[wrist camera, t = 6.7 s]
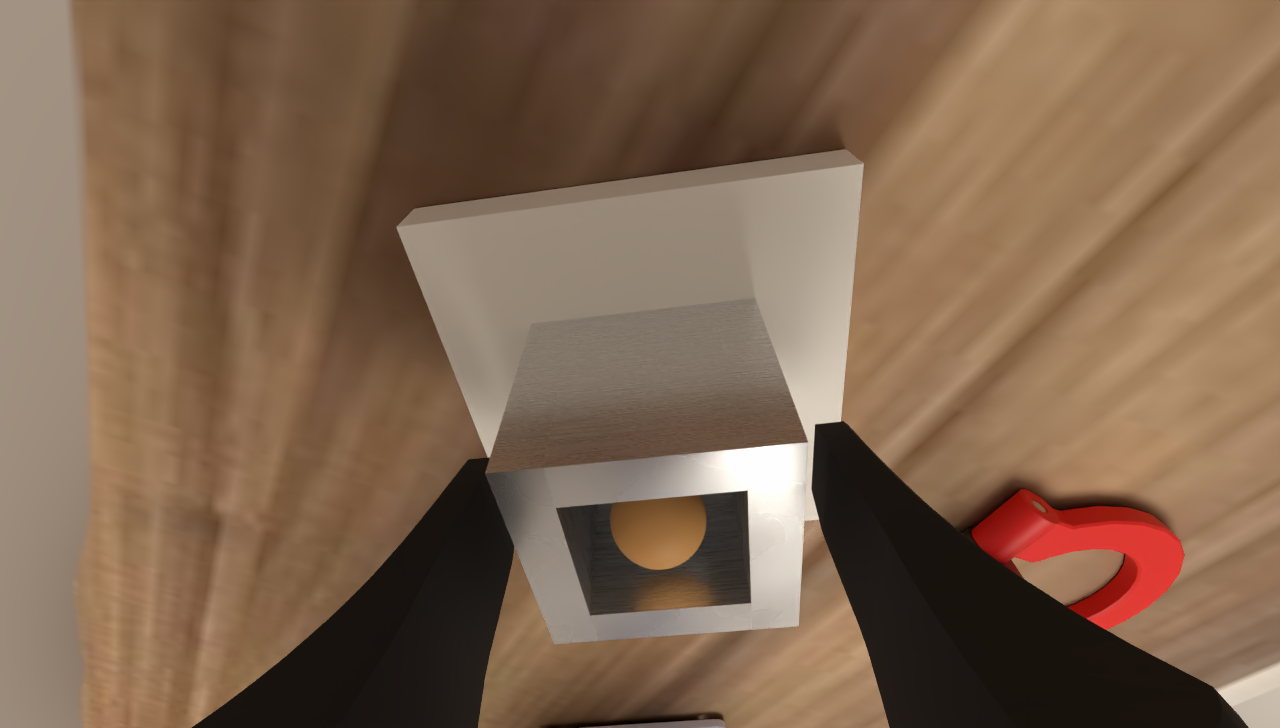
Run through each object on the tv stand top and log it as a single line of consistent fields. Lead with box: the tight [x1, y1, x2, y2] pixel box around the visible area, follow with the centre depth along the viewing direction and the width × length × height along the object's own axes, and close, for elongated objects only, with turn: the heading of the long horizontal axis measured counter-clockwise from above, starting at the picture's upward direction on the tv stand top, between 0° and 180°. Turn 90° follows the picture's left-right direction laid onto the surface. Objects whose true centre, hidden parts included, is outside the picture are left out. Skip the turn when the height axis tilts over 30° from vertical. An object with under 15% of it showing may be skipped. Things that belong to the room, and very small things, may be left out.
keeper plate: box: [396, 149, 864, 570], centre depth 13 cm, size 10×11×6 cm
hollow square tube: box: [485, 298, 808, 644], centre depth 13 cm, size 5×5×5 cm
